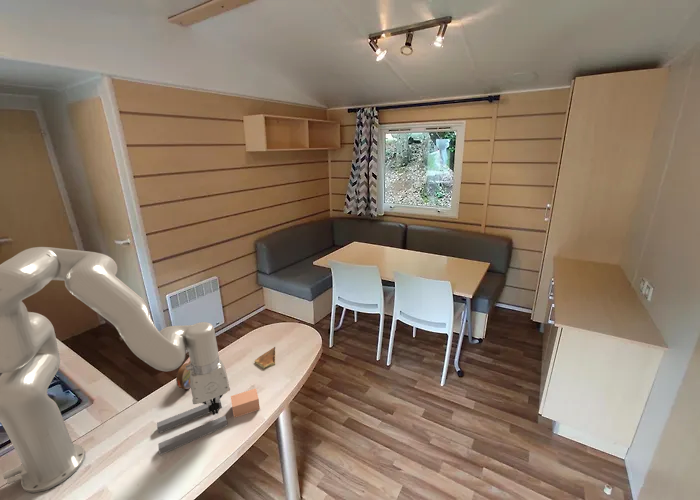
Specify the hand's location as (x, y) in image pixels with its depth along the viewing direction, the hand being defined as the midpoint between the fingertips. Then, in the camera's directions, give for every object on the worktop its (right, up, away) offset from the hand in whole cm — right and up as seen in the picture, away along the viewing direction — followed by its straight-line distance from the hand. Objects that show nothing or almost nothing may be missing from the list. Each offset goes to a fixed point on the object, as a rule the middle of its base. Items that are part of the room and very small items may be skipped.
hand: (214, 411), depth 100 cm
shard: (+9, +6, +27) cm, 29 cm away
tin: (-15, +3, +17) cm, 23 cm away
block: (+8, -1, +4) cm, 10 cm away
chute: (-6, -3, -2) cm, 7 cm away
